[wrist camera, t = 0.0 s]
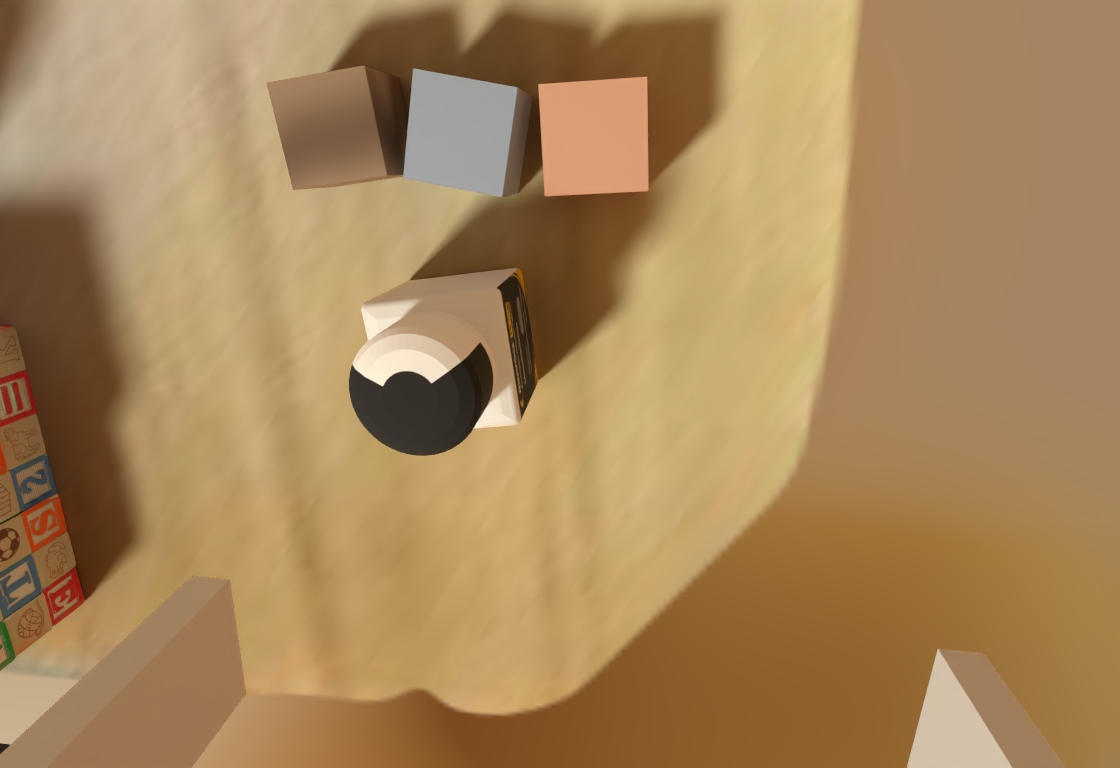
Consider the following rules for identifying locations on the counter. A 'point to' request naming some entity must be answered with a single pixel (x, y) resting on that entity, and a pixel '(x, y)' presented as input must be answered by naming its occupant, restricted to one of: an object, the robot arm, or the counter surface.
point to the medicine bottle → (444, 360)
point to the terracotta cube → (594, 136)
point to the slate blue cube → (466, 133)
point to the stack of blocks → (28, 518)
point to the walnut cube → (341, 127)
